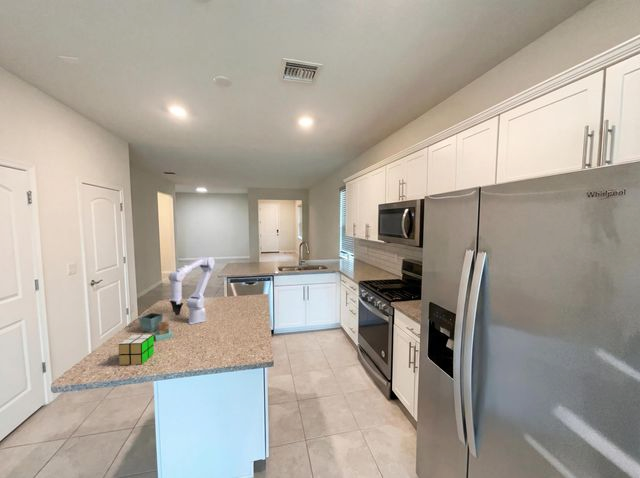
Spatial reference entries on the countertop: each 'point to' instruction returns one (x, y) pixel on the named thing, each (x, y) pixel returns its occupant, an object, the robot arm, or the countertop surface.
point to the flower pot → (150, 322)
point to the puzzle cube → (136, 349)
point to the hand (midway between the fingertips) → (176, 313)
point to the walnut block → (163, 328)
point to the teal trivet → (163, 336)
